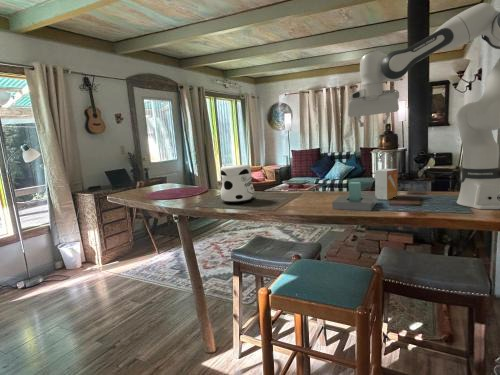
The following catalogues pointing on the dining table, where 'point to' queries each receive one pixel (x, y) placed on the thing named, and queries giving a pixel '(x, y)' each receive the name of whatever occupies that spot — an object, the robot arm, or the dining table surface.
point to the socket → (355, 203)
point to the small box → (386, 183)
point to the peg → (355, 191)
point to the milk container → (236, 184)
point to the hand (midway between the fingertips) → (373, 125)
